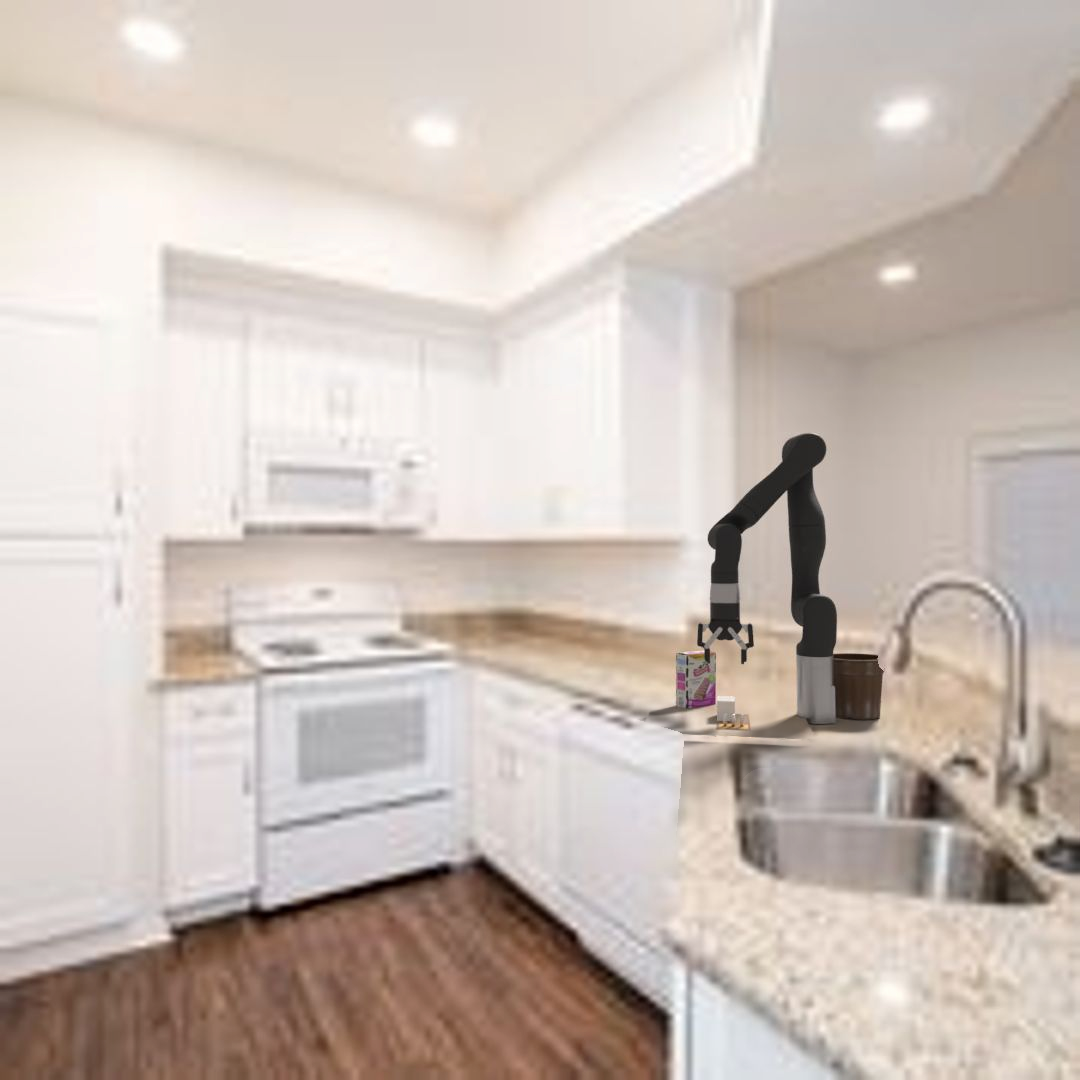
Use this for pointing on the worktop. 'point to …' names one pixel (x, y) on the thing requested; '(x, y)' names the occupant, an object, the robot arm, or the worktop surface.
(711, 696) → the candy bar box
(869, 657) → the plant pot
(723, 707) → the connector housing
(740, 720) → the header pins
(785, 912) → the worktop surface
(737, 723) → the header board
